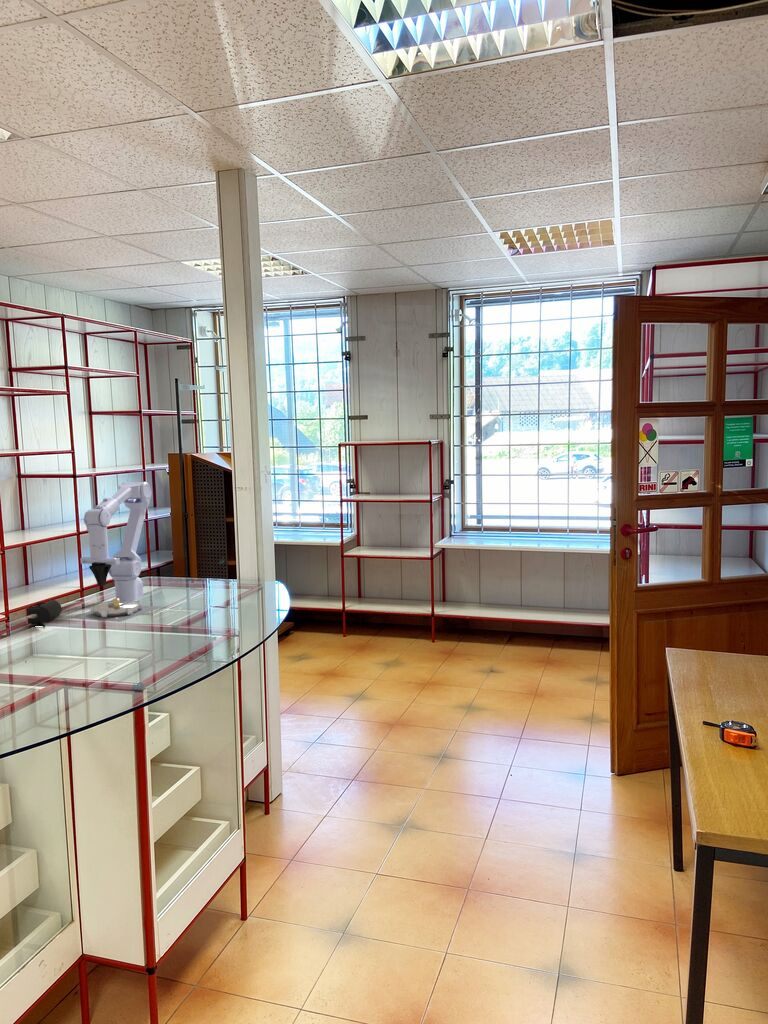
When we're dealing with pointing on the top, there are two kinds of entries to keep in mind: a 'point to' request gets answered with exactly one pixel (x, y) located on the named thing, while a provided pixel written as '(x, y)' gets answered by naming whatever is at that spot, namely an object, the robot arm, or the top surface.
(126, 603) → the lugged metal disc
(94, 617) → the base plate
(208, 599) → the top surface
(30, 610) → the electric motor
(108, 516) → the robot arm
